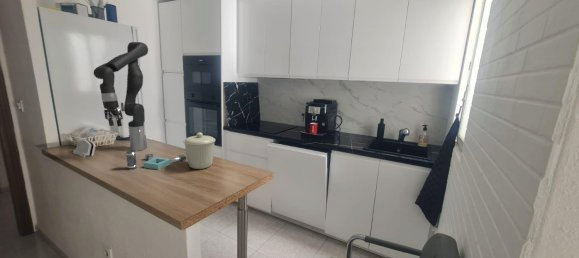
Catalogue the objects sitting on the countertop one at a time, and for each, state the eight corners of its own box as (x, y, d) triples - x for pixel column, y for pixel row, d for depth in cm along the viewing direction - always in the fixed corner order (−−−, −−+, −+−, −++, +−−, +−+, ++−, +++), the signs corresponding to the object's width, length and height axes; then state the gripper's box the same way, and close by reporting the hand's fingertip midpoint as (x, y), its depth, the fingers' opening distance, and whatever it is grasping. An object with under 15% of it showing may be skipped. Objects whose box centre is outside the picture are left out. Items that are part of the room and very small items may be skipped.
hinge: (72, 152, 158) (76, 138, 159) (81, 153, 163) (85, 139, 164) (84, 157, 151) (88, 142, 152) (93, 158, 155) (97, 143, 156)
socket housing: (156, 161, 149) (156, 157, 148) (170, 163, 147) (170, 159, 146) (143, 167, 139) (143, 162, 139) (158, 169, 137) (157, 164, 136)
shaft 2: (167, 164, 145) (166, 160, 144) (164, 162, 148) (164, 158, 147) (187, 160, 154) (186, 155, 153) (184, 158, 156) (184, 154, 156)
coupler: (132, 166, 140) (130, 150, 138) (139, 167, 139) (137, 151, 137) (125, 169, 136) (123, 152, 134) (132, 170, 135) (130, 153, 133)
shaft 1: (158, 162, 147) (157, 158, 147) (151, 164, 145) (150, 159, 144) (151, 157, 156) (151, 153, 155) (144, 159, 153) (144, 154, 152)
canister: (206, 173, 135) (205, 137, 130) (178, 169, 138) (175, 134, 134) (221, 162, 152) (220, 130, 148) (195, 159, 156) (194, 128, 151)
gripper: (123, 99, 146) (128, 125, 150) (109, 99, 152) (115, 124, 156) (110, 101, 140) (116, 127, 143) (96, 101, 146) (102, 126, 149)
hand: (115, 126), depth 150 cm, fingers open, 8 cm apart
